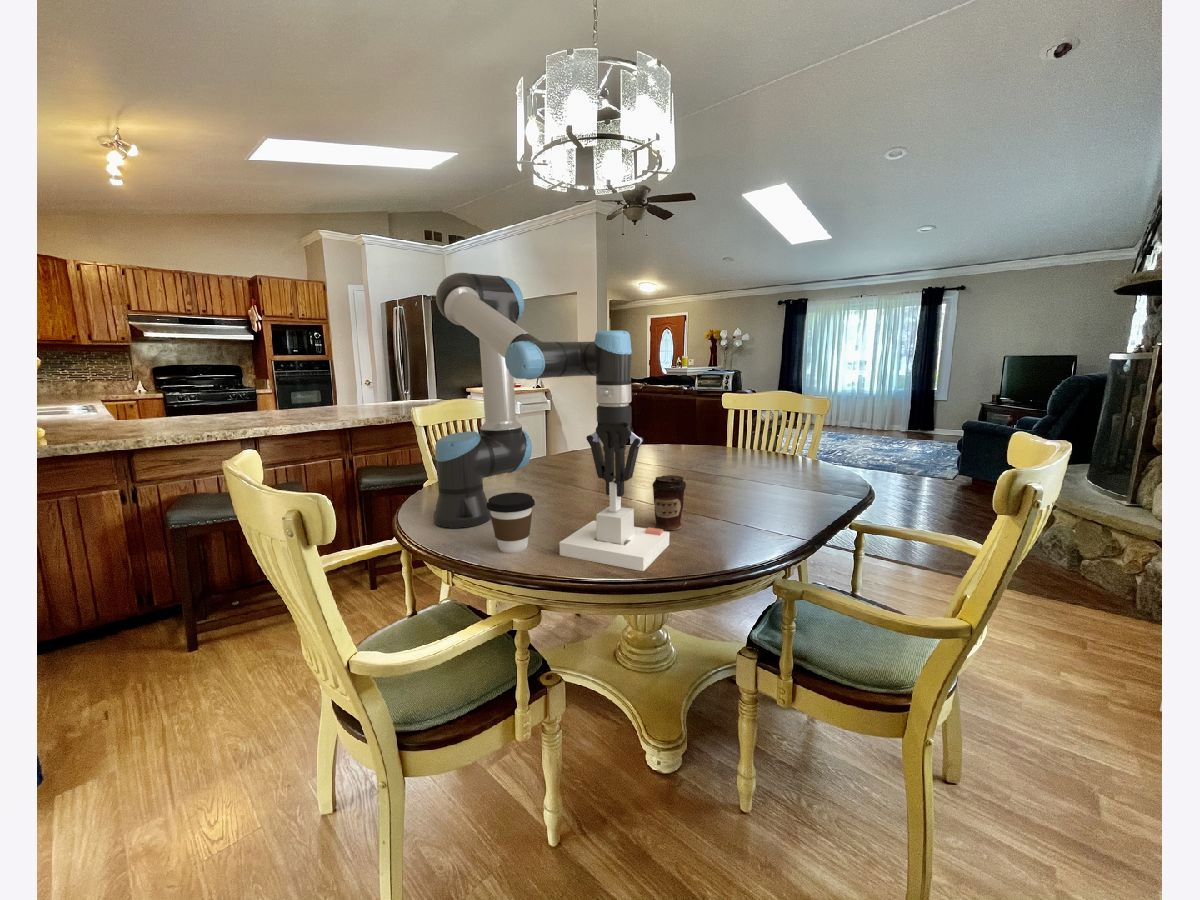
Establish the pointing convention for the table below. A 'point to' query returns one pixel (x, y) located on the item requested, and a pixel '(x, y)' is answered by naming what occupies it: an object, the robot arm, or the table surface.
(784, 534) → the table surface
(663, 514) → the coffee cup
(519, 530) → the coffee cup
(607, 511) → the plug
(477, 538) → the table surface
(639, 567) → the socket plate
